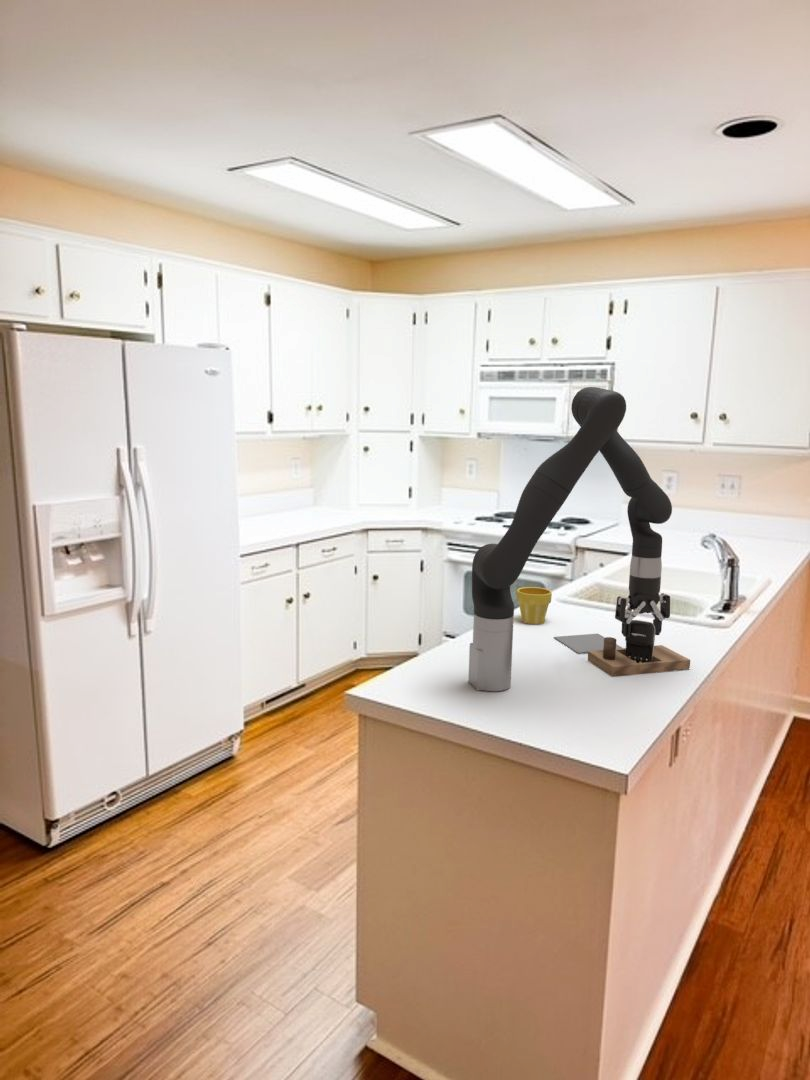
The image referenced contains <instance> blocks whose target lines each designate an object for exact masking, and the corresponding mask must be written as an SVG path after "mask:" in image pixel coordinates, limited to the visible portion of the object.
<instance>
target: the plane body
mask: <svg viewBox="0 0 810 1080" xmlns="http://www.w3.org/2000/svg"><path fill="white" fill-rule="evenodd" d="M616 644H617V638H615V637H611V636H605V638H604V647H603V650H596V651H588V653H587V661H588V662H590V663H591V664H592V665H594V666H596V667H597V668H599V669H600V670H601V671H603V672H604V673H606V674H607V675H609V676H610V677H623V676H635V675H643V674H656V672H657V673H665V671H667V672H674V671H673V670H678V671H682V670H681V669H688V670H690V669H689V668H691V659H690V658H688V657H686V656H684V655H683V654H680V653H678V652H676V651H674V650H672V649H670V648H668V647H666V646H665V645H663V644H659V645H654V650H653V659H652V662H645V663H637V662H635V661H633V660H631V659H630V658H628V657H626V647H622V648H620V649H616Z"/></svg>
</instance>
